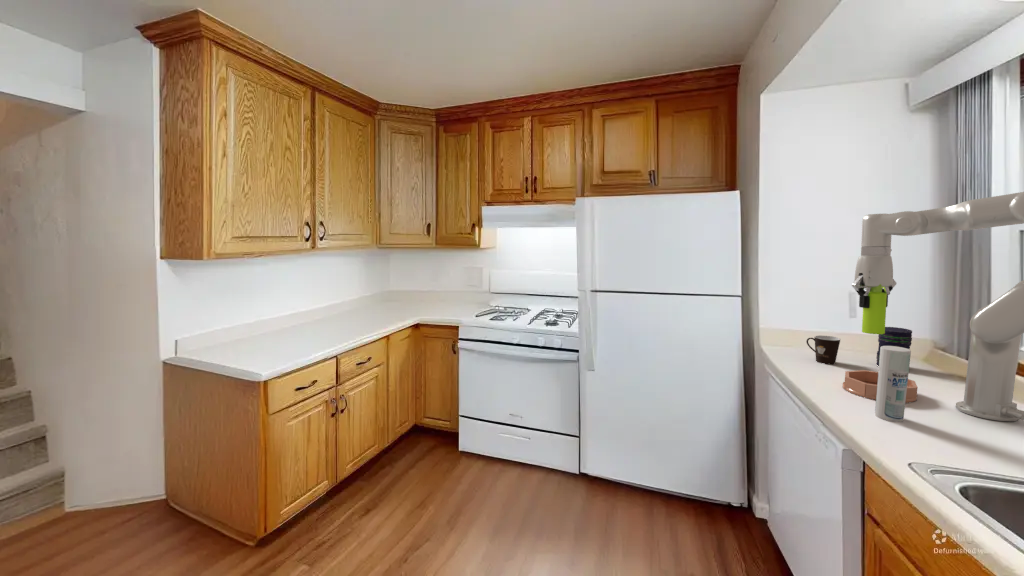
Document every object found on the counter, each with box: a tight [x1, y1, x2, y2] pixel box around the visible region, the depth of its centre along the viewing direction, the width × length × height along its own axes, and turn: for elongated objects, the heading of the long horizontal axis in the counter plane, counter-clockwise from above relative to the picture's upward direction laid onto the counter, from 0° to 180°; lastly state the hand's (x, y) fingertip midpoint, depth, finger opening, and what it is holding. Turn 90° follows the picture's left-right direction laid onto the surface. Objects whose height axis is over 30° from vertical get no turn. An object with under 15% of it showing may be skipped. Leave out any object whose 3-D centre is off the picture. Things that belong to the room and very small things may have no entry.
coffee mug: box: [806, 335, 841, 365], centre depth 184 cm, size 12×9×10 cm
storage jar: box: [875, 326, 913, 367], centre depth 174 cm, size 10×10×15 cm
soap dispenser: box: [861, 284, 887, 335], centre depth 148 cm, size 6×7×20 cm
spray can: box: [874, 346, 912, 423], centre depth 127 cm, size 6×6×20 cm
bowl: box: [842, 369, 918, 404], centre depth 148 cm, size 19×19×4 cm
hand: (873, 306), depth 148 cm, fingers closed on soap dispenser, 5 cm apart
